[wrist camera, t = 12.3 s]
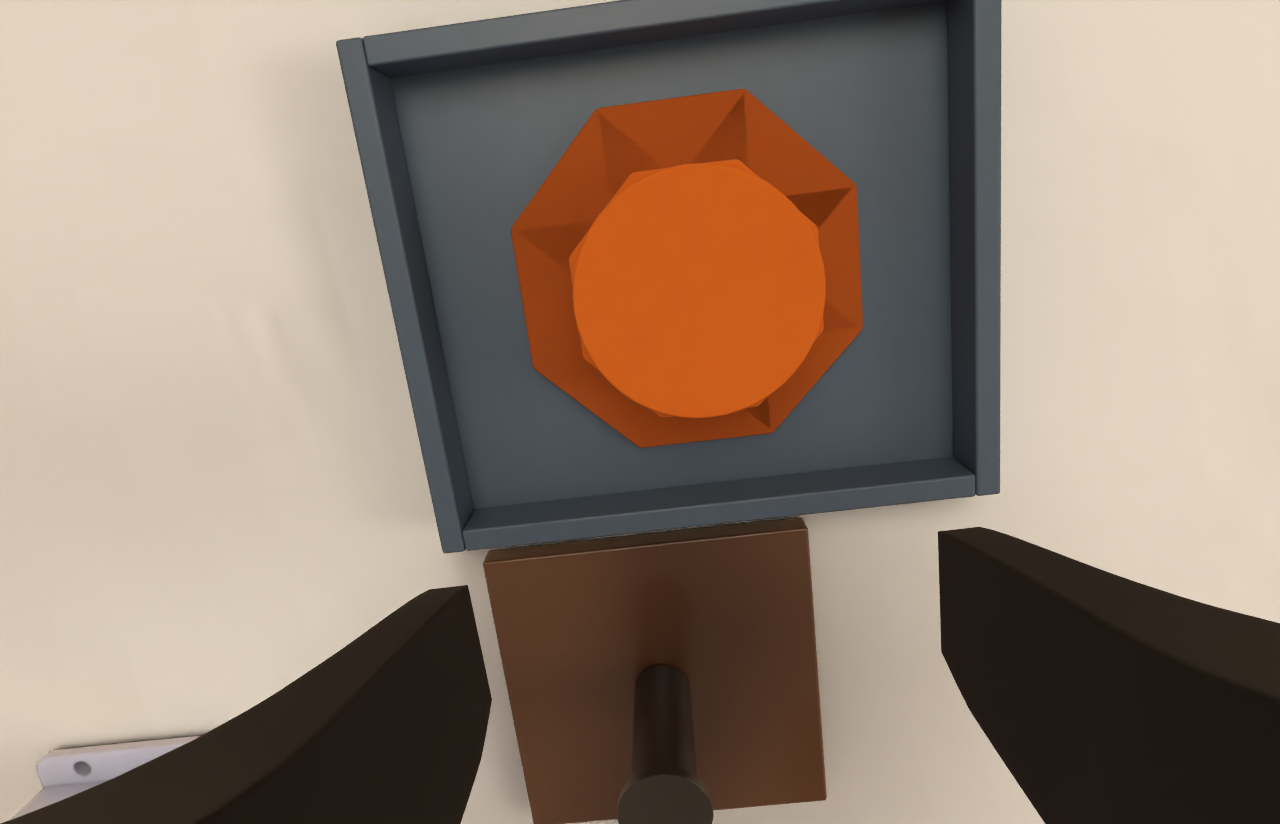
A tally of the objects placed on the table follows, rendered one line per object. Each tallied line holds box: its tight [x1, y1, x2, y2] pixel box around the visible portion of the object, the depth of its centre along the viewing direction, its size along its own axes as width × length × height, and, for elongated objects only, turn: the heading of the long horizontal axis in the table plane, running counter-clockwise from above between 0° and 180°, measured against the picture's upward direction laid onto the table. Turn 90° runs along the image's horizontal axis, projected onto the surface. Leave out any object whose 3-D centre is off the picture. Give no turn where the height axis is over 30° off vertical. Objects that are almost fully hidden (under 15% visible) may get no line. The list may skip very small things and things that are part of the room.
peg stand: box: [483, 517, 827, 824], centre depth 19 cm, size 9×9×6 cm
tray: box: [336, 0, 1001, 553], centre depth 18 cm, size 14×12×2 cm
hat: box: [511, 88, 863, 448], centre depth 17 cm, size 8×8×4 cm
